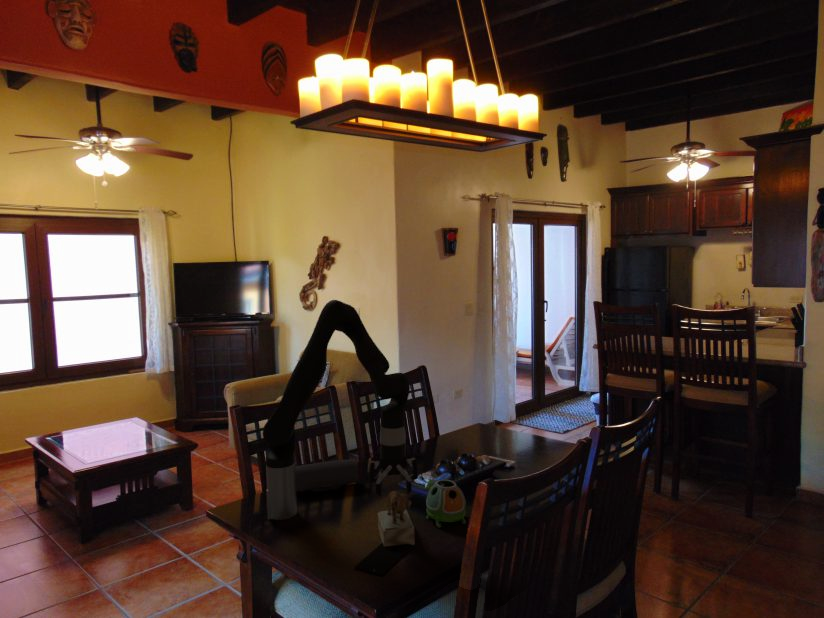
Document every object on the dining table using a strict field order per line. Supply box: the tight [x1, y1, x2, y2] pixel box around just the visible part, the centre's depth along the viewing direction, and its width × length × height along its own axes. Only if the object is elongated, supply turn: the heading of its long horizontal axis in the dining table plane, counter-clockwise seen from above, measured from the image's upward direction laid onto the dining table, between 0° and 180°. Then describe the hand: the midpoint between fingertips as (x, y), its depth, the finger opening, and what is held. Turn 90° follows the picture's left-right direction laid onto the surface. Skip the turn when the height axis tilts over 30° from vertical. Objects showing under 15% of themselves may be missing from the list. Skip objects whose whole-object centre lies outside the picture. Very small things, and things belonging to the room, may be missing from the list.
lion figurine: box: [387, 490, 412, 523], centre depth 175 cm, size 15×5×9 cm, turn 23°
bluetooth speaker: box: [295, 459, 359, 493], centre depth 213 cm, size 23×9×10 cm, turn 108°
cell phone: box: [354, 541, 413, 577], centre depth 162 cm, size 9×18×1 cm, turn 153°
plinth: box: [377, 509, 416, 547], centre depth 175 cm, size 9×13×6 cm
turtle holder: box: [425, 479, 467, 528], centre depth 187 cm, size 12×18×12 cm
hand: (393, 494), depth 173 cm, fingers open, 8 cm apart
